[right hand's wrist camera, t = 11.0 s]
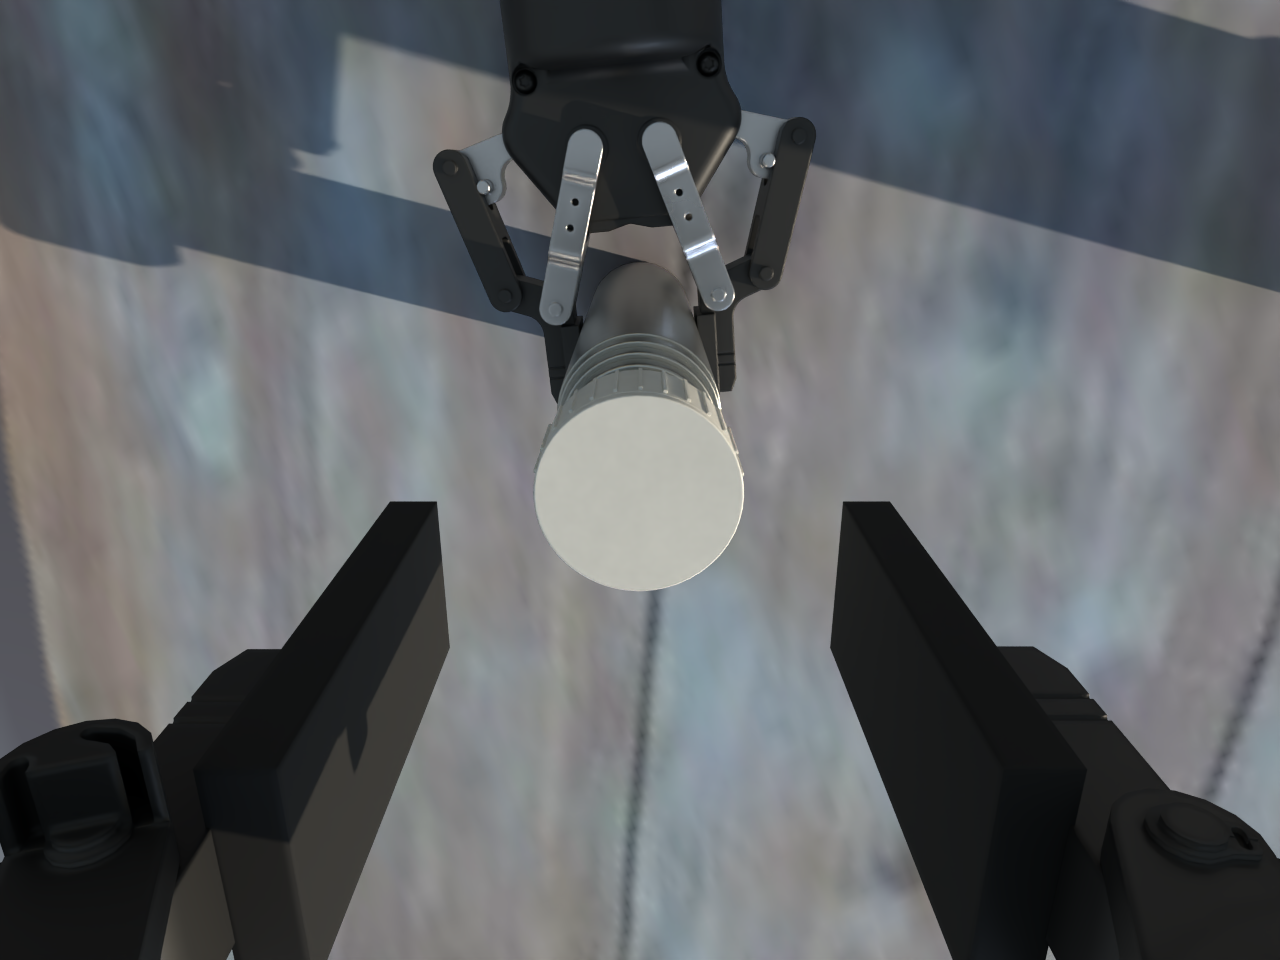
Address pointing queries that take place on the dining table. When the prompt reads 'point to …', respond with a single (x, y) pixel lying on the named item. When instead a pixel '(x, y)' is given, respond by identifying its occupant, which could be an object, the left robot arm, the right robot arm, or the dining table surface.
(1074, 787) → the right robot arm
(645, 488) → the cap
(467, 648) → the dining table surface
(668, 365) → the bottle
